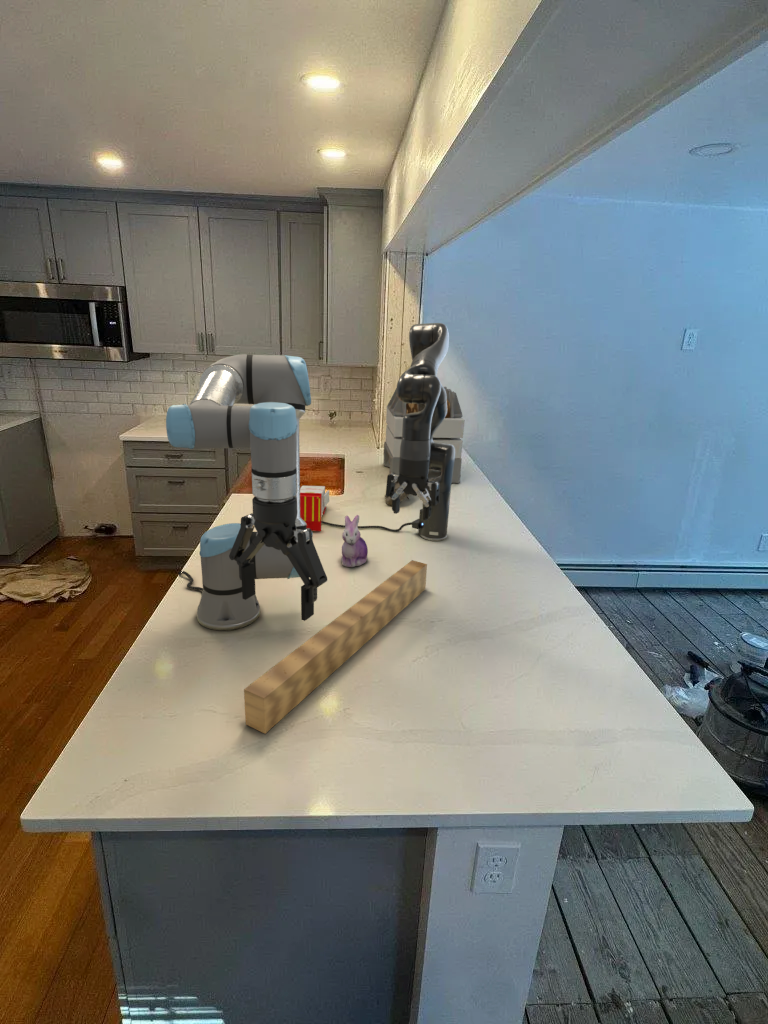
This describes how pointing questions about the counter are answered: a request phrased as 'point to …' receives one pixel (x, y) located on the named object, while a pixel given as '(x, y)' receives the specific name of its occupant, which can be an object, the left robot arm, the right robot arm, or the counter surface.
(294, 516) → the left robot arm
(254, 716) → the post
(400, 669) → the counter surface
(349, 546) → the figurine
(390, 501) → the fossil
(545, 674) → the counter surface
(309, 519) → the toy
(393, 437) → the transformer
